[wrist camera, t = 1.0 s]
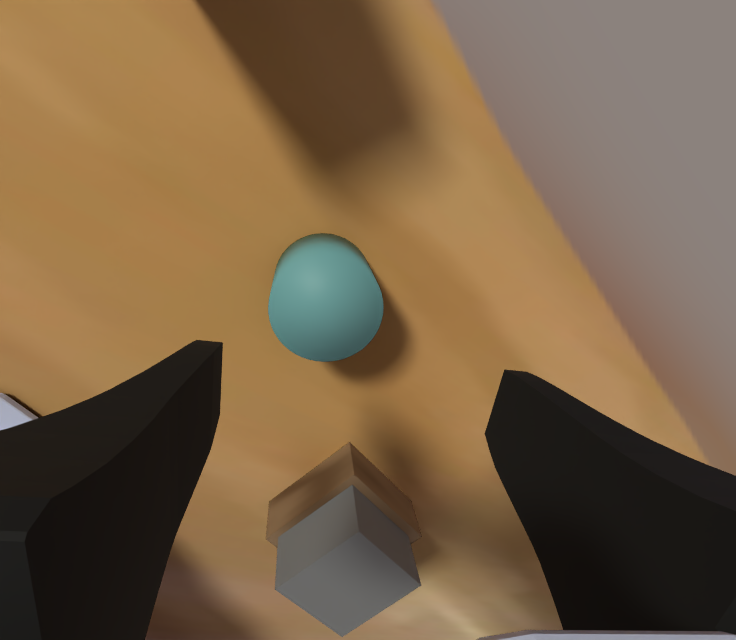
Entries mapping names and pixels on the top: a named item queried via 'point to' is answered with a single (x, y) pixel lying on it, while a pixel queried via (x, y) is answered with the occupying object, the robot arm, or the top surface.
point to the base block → (332, 481)
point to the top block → (345, 562)
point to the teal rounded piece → (324, 299)
